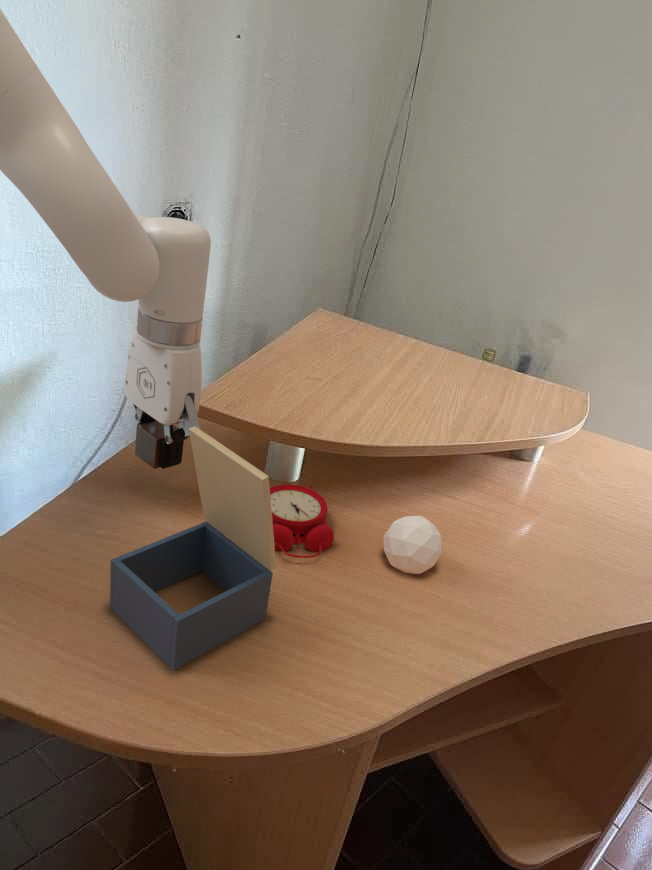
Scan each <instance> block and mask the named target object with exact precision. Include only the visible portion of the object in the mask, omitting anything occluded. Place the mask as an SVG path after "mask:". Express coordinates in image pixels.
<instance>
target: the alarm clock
mask: <svg viewBox="0 0 652 870" xmlns="http://www.w3.org/2000/svg"><path fill="white" fill-rule="evenodd" d="M270 498H271V510H272V522H273V534H274V547H275V551H279V552H280V551H281V552H283V553H284V554H285V555H287V556H289V557H292V558H299V559H309V558H316V557H318V556H320V554H321V553H322V551H324V550H327V549H329V548H330V547H332V545H333V543H334V539H335V532H334V530H333V528H332V527H331V526H329V525H328V521H327V516H328V512H329V511H328V504H327V501H326V500H325V498H324V497H323V496H322V495H320V494H319V493H318V492H317V491H316V490H314V489H313V485H309V487H306V486H302V485H299V484H298V485H297V484H277V485H274V486H270ZM294 535H295V536H294ZM302 544H304V548H305V549H306V550H308V551H310V552H317V553H316V554H315V553H314V554H311V555H296V554H291V553H289V551H290V550H291V548H292V547H293V545H302Z"/></svg>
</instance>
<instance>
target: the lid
mask: <svg viewBox="0 0 652 870" xmlns="http://www.w3.org/2000/svg"><path fill="white" fill-rule="evenodd" d="M189 434H190V436H189V440H190V446H191V451H192V456H193V462H194V469H195V473H196V480H197V486H198V491H199V496H200V503H201V508H202V514H203V519H204V521H205V522H206V521H207V522H208V523H209V524H211V525H212V526H213V527H215V528H216V529H217V530H218V531H220V532H221V533H222V534H224V535H225V536H226V537H227V538H229V539H230V540H231V541H233V542H234V543H235V544H236V545H238V546H239V547H240V548H242V549H243V550H244V551H245V552H247V553H248V554H249V555H251V556H252V557H253V558H254V559H256V560H257V561H258V562H260V563H261V564H262V565H263V566H265V567H266V568H267V569H268V570H270V571H271V572H273V570H275V569H276V568H277V560H276V550H275V547H274V534H273V522H272V510H271V498H270V488H271V486H270V476H269V475H268V474H266V473H265V472H263V471H262V470H260V469H259V468H257V467H256V466H255V465H253V464H251V463H250V462H249V461H247V460H246V459H244V458H243V457H241V456H240V455H238V454H237V453H235V452H234V451H232V450H231V449H229V448H228V447H226V446H225V445H223V444H222V443H221V442H219V441H217V440H216V439H215V438H214V437H212V436H210V435H208V433H206V432H204V431H203V430H202V429H201V430H200V429H198V428H197V427H196V426H193V427H191V428H189Z"/></svg>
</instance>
